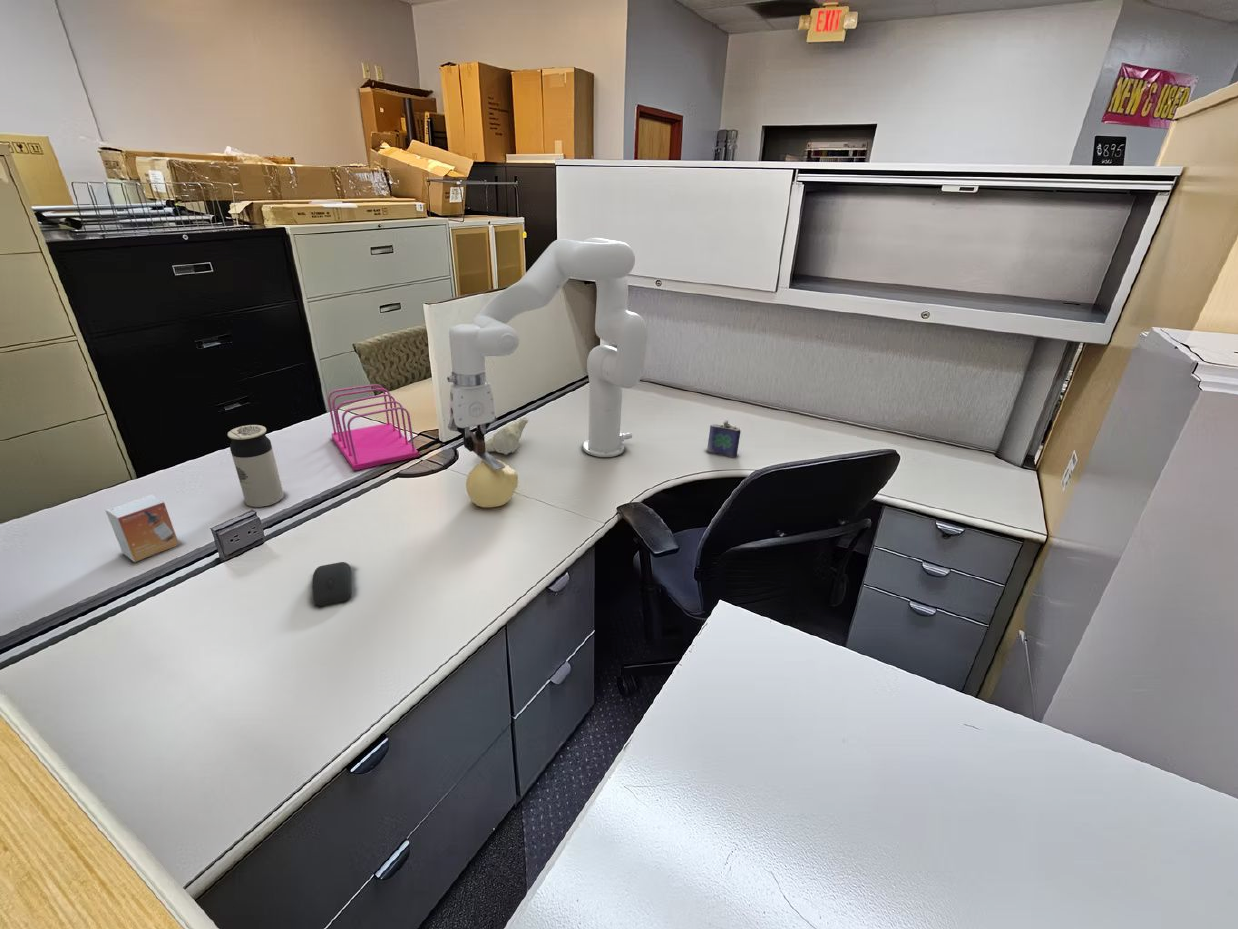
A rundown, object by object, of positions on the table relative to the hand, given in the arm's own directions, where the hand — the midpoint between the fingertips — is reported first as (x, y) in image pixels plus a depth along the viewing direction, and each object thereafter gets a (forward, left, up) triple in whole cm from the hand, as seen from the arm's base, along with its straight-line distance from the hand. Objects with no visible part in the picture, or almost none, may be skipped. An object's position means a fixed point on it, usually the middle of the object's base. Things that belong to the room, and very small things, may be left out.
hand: (474, 447), depth 141 cm
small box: (+67, -11, -11) cm, 69 cm away
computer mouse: (+40, +22, -11) cm, 47 cm away
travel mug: (+45, -21, -11) cm, 51 cm away
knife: (0, +4, 0) cm, 4 cm away
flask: (-71, +21, -11) cm, 75 cm away
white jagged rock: (-18, -17, -11) cm, 27 cm away
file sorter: (+15, -37, -11) cm, 42 cm away
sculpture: (0, +9, -11) cm, 14 cm away
